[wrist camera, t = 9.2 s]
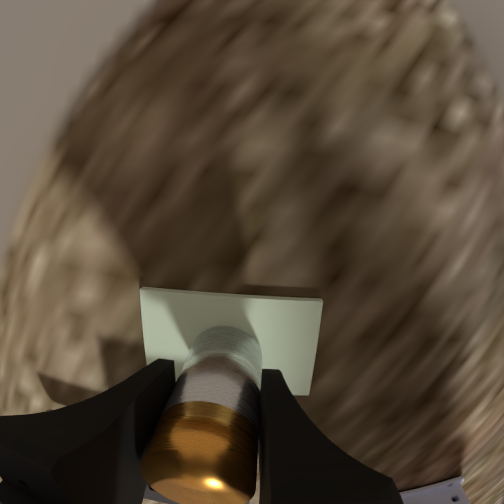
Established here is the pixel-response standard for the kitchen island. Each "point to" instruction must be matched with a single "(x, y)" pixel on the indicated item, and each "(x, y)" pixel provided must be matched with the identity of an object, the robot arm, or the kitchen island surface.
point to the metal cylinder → (210, 424)
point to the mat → (238, 316)
